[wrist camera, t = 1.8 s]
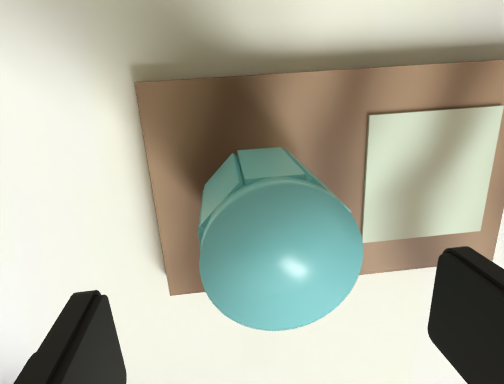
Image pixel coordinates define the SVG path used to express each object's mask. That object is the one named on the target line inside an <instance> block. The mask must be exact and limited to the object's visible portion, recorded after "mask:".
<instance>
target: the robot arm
mask: <svg viewBox="0 0 504 384" xmlns="http://www.w3.org/2000/svg"><path fill="white" fill-rule="evenodd" d="M428 334H429V337H430V339H431V340H432V342H433V343H434V344H435V345H436V347H437V348H438V349H439V350H440V351H441V353H442V354H443V355H444V356H445V357H446V359H447V360H448V361H449V362H450V363H451V364H452V366H453V367H454V368H455V369H456V370H457V372H458V373H459V374H460V375H461V376H462V378H463V379H464V380H465V381H466V382H467V384H504V269H503V268H501V267H500V266H498V265H496V264H495V263H493V262H492V261H490V260H489V259H487V258H486V257H484V256H483V255H481V254H480V253H478V252H477V251H475V250H474V249H472V248H470V247H468V246H462V247H453V248H447V249H445V250H444V251H443V254H441V255H440V256H439V258H438V263H437V270H436V276H435V283H434V289H433V296H432V303H431V309H430V316H429V322H428ZM14 384H126V369H125V365H124V361H123V357H122V353H121V349H120V345H119V341H118V336H117V332H116V328H115V324H114V320H113V316H112V312H111V308H110V304H109V300H108V297H107V296H106V295H101V294H100V292H99V291H98V290H94V291H85V292H77V293H73V295H72V296H71V297H70V299H69V301H68V302H67V304H66V305H65V307H64V309H63V310H62V312H61V313H60V315H59V317H58V318H57V320H56V321H55V323H54V325H53V326H52V328H51V329H50V331H49V333H48V334H47V336H46V338H45V339H44V341H43V342H42V344H41V346H40V347H39V349H38V350H37V352H36V353H34V354H33V355H32V356H31V357H30V359H29V360H28V361H27V363H26V365H25V366H24V368H23V369H22V371H21V372H20V374H19V376H18V377H17V379H16V380H15V382H14Z"/></svg>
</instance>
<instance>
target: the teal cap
mask: <svg viewBox="0 0 504 384" xmlns="http://www.w3.org/2000/svg"><path fill="white" fill-rule="evenodd" d="M237 154H238V157H237V156H236V155H235V154H233V153H232V154H231V155H230V156H229V157H228V159H227V160H226V161H225V162H224V163H223V164H222V165H221V167H220V168H219V169H218V170H217V171H216V172H215V174H214V175H213V176H212V177H211V178H210V179H209V180H208V182H207V183H206V184H205V186H204V190H203V195H202V203H201V211H200V219H199V227H198V237H199V245H200V261H199V266H200V276H201V281H202V284H203V286H204V289H205V291H206V293H207V295H208V297H209V299H210V300H211V301H212V303H213V304H214V305H215V306H216V307H217V308H218V309H219V310H220V311H221V312H222V313H223V314H224V315H226V316H227V317H228V318H230V319H232V320H234V321H235V322H237V323H239V324H242V325H244V326H247V327H251V328H254V329H260V330H269V331H279V330H289V329H294V328H298V327H302V326H305V325H307V324H310V323H312V322H315V321H317V320H318V319H320V318H322V317H324V316H325V315H327V314H328V313H330V312H331V311H332V310H334V309H335V308H336V307H337V306H338V305H339V304H340V303H341V302H342V301H343V300H344V299H345V298H346V297H347V295H348V294H349V293H350V291H351V290H352V288H353V286H354V284H355V283H356V281H357V278H358V276H359V273H360V270H361V266H362V260H363V242H362V236H361V233H360V230H359V227H358V225H357V223H356V221H355V219H354V217H353V216H352V215H351V214H350V213H351V212H352V211H351V210H350V209H349V208H348V207H347V206H346V205H345V204H344V203H343V202H342V201H341V200H340V199H339V198H338V197H337V196H336V195H335V194H334V193H333V192H332V191H331V190H330V189H329V188H328V187H327V186H326V185H325V184H324V183H323V182H321V181H320V180H319V179H318V178H317V177H316V176H315V175H314V174H313V173H312V172H311V171H310V170H309V169H308V168H307V167H305V166H304V165H303V164H302V163H301V162H300V161H299V160H298V159H297V158H295V157H294V156H293V155H292V154H291V153H290V152H289V151H288V150H287V149H285V150H283V149H282V148H281V147H274V148H261V149H248V150H237Z"/></svg>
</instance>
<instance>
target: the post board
mask: <svg viewBox="0 0 504 384" xmlns="http://www.w3.org/2000/svg"><path fill="white" fill-rule="evenodd" d="M134 83H135V89H136V95H137V101H138V107H139V113H140V119H141V125H142V131H143V137H144V143H145V149H146V155H147V161H148V167H149V173H150V178H151V184H152V190H153V196H154V202H155V208H156V214H157V220H158V226H159V232H160V238H161V244H162V250H163V256H164V262H165V268H166V274H167V280H168V286H169V292H170V296H172V295H181V294H190V293H199V292H206V291H205V289H204V286H203V284H202V281H201V276H200V266H199V261H200V245H199V237H198V227H199V219H200V211H201V203H202V195H203V190H204V186H205V184H206V183H207V182H208V180H209V179H210V178H211V177H212V176H213V175H214V174H215V172H216V171H217V170H218V169H219V168H220V167H221V165H222V164H223V163H224V162H225V161H226V160H227V159H228V157H229V156H230V155H231V154H232V153H233V154H235V155H236V156H237V157H238V154H237V150H248V149H261V148H274V147H281V148H282V149H283V150H285V149H287V150H288V151H289V152H290V153H291V154H292V155H293V156H294V157H295V158H297V159H298V160H299V161H300V162H301V163H302V164H303V165H304V166H305V167H307V168H308V169H309V170H310V171H311V172H312V173H313V174H314V175H315V176H316V177H317V178H318V179H319V180H320V181H321V182H323V183H324V184H325V185H326V186H327V187H328V188H329V189H330V190H331V191H332V192H333V193H334V194H335V195H336V196H337V197H338V198H339V199H340V200H341V201H342V202H343V203H344V204H345V205H346V206H347V207H348V208H349V209H350V210H351V211H352V212H351V213H350V214H351V215H352V216H353V217H354V219H355V221H356V223H357V225H358V227H359V230H360V233H361V236H362V242H363V260H362V266H361V270H360V273H359V275H364V274H373V273H382V272H391V271H400V270H409V269H418V268H427V267H437V263H438V258H439V256H440V255H441V254H443V251H444V250H445V249H447V248H453V247H462V246H468V247H470V248H472V249H474V250H475V251H477V252H478V253H480V254H481V255H483V256H484V257H486V258H487V259H489V260H490V261H491V260H493V256H494V251H495V246H496V242H497V237H498V232H499V227H500V222H501V218H502V213H503V208H504V60H489V61H473V62H457V63H441V64H425V65H409V66H392V67H376V68H360V69H344V70H328V71H312V72H295V73H279V74H263V75H247V76H231V77H215V78H198V79H182V80H166V81H150V82H134Z"/></svg>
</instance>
